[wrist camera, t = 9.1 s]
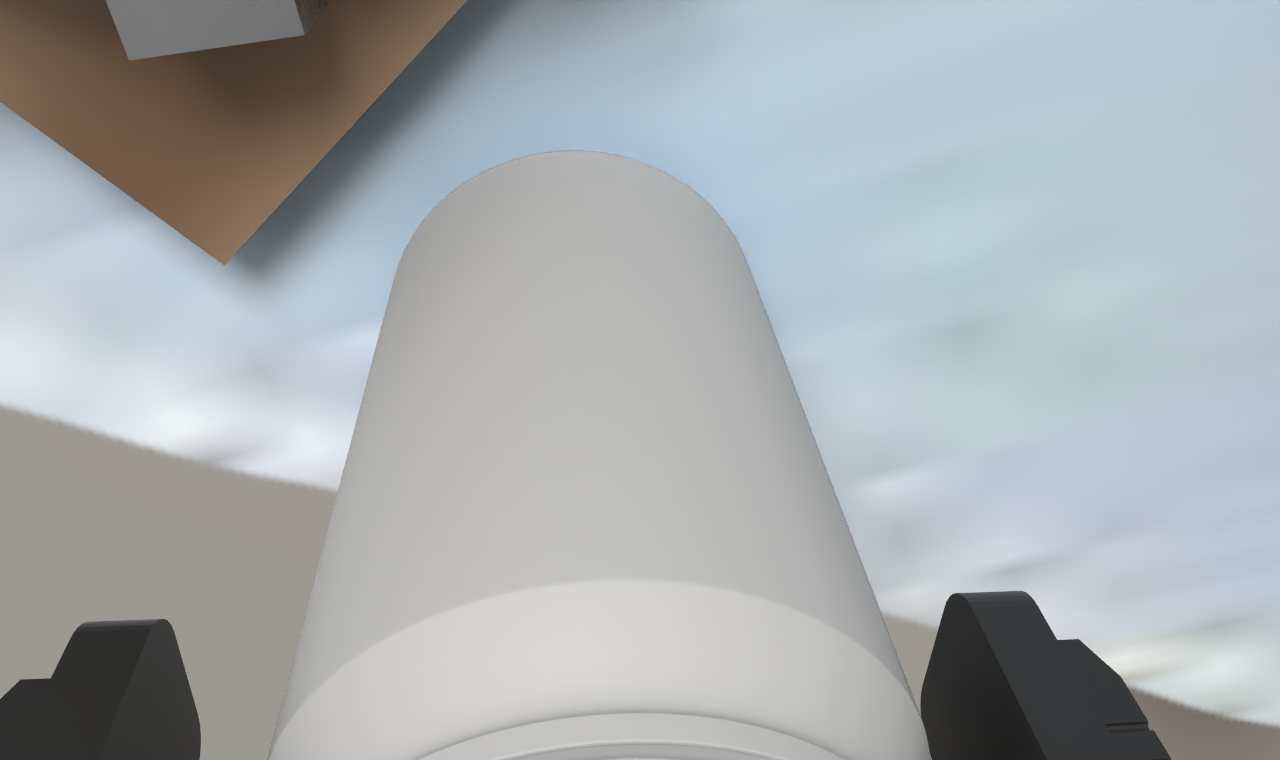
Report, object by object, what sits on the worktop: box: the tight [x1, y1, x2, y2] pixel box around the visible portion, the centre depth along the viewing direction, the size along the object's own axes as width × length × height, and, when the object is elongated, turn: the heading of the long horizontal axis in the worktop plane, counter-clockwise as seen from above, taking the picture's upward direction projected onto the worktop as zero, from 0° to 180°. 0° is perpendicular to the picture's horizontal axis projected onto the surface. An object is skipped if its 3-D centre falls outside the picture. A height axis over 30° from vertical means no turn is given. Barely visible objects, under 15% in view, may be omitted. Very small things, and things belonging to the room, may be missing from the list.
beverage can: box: [267, 151, 931, 760], centre depth 14 cm, size 6×6×12 cm
